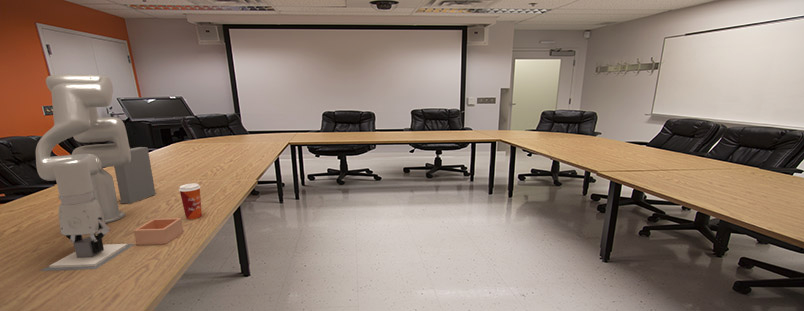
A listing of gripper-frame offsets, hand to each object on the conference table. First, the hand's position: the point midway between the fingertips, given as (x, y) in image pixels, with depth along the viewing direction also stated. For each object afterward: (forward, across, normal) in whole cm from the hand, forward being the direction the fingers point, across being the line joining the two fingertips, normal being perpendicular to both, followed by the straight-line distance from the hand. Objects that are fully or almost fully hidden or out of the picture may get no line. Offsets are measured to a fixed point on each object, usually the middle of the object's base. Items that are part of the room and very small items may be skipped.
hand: (90, 251), depth 104 cm
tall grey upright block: (+3, -27, +59) cm, 65 cm away
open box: (+2, +14, +12) cm, 19 cm away
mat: (+2, 0, 0) cm, 2 cm away
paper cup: (+3, +14, +33) cm, 36 cm away
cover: (+2, 0, 0) cm, 2 cm away
